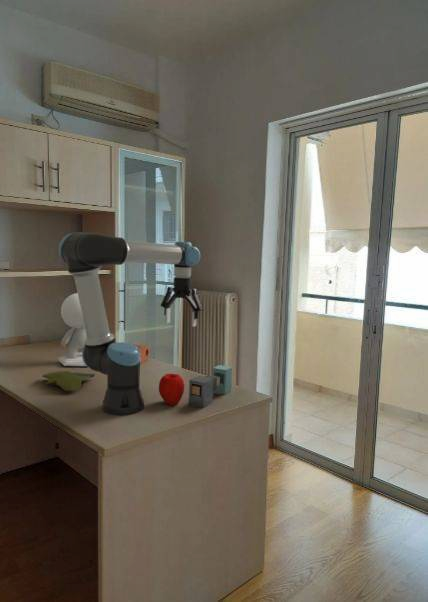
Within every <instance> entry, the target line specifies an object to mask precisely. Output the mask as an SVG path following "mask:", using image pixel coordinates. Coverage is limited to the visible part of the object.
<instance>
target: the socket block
mask: <svg viewBox="0 0 428 602" xmlns="http://www.w3.org/2000/svg"><path fill="white" fill-rule="evenodd" d="M212 376H218V377H220V385H218V386H217V389H216V390H215V391H213V394H219V395H224V396H226V395H227V394H229V393H231V392H232V380H233V379H232V377H233V367H232V366H226V365H221V364H218V365H216V366H214V367H212Z"/></svg>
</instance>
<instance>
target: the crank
mask: <svg viewBox="0 0 428 602" xmlns="http://www.w3.org/2000/svg"><path fill="white" fill-rule="evenodd" d="M133 345H135V346H137V347H138V348H139V351H140V365H142V364H143V363H145V362H146V361H148V360H149V358H150V352H151V348H150V346H149V345H148V344H147V345H146V344H137V343H136V344H135V343H133Z"/></svg>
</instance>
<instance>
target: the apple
mask: <svg viewBox="0 0 428 602" xmlns="http://www.w3.org/2000/svg"><path fill="white" fill-rule="evenodd" d="M158 393H159V395H160V397H161V398H162V400H163V401H164V403H166V404H167V405H169V406H172V405H174V406H175V405H177V404H179V403H180V401H181V400H182V398H183V395H184V393H185V382H184V379H183V377H182V376H181V375H179V374H177V373H166V374H164V375H163V376H162V377H161V378H160V380H159V383H158Z"/></svg>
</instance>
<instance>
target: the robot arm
mask: <svg viewBox="0 0 428 602" xmlns="http://www.w3.org/2000/svg"><path fill="white" fill-rule="evenodd" d="M58 255H59V257H60V259H61V260H62V261H63V262H64V263H65V264H66V269H67V271H68V272H67V273H68V274H70V275H71V276H73V278H74V282H75V287H76V293H78V297H79V302H80V306H81V311H82V316H83V320H84V325H85V329H86V334H87V338H86V339H85V341H84V344H85V346H84V349H83V348H82V352H81V353H82V359H83V361H84V363H85V365H86V366H85V367H87V368H89V369H90V370H92V371H94V372H97V373H100V374H103V375H104V376H107V377H106V378H107V381H106V382H107V385H106V387H107V389H106V391H105V394H104V397H103V400H102V408H101V409H102V411H103V412H104V413H107V414H108V415H109V414H110V415H114V416H116V415H117V416H128V415H134V414H137V413H140V412H141V411H143V410H144V409H145V398H143V394H142V390H141V386H140V383H141V381H140V380H141V379H140V378H141V377H140V375H141V364H140V351H139V348H138V347H137V346H135V345H133V344H134V343H133V344H132V343H129V342H119V341H118V342H117V341H116V336H115V334H114V333H112V332H111V331H110V327H109V321H108V317H107V312H106V306H105V303H104V297H103V291H102V286H101V282H100V277H99V276H100V275H99V270H100V269H101V268H102V267H103V266H113V265H115V266H116V265H118V266H120V265H121V266H122V265H123V264H125V263H135V264H156V265H157V264H158V265H159V264H161V265H163V264H165V265H173V276H174V277H173V286H168V287H167V288H166V289H167V290H166V293H165V294H164V297H163V299H162V301H161V303H160V307H162V308H163V309H164V314H163V315H164V316H165V324H169V323H171V309H172V308H170V307H171V306H172V304H173V303H174V302H175V301H176V300H177V299H185V300H186V301H187V302H188V304H189V305H190V307H191V309H192V310H193V311H192V312H191V313H192V315H191V327H193V328H194V327H197V319H199V312H200V311H203V310H204V309H203V306H202V304H201V301H200V300H201V299H200V297H199V295H198V288H191V282H192V280H191V276H192V266H195V265H197V264H198V263H199V262H200V260H201V252H200V250H199V248H197V247H196V246H193V245H192V243H191V242H189V241H175V243H174V244H165V243H153V242H141V241H132V240H131V241H130V240H129V241H128V240H126V239H124V238H123V237H119V236H117V237H116V236H113V235H112V236H111V235H107V234H103V233H98V232H80V231H79V232H72V233H71V232H70V233H69V234H66V235H65V236H64V237H63V238H62V239H61V240H60V242H59V245H58ZM172 293H173V295H172ZM191 295H192V296H191Z"/></svg>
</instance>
